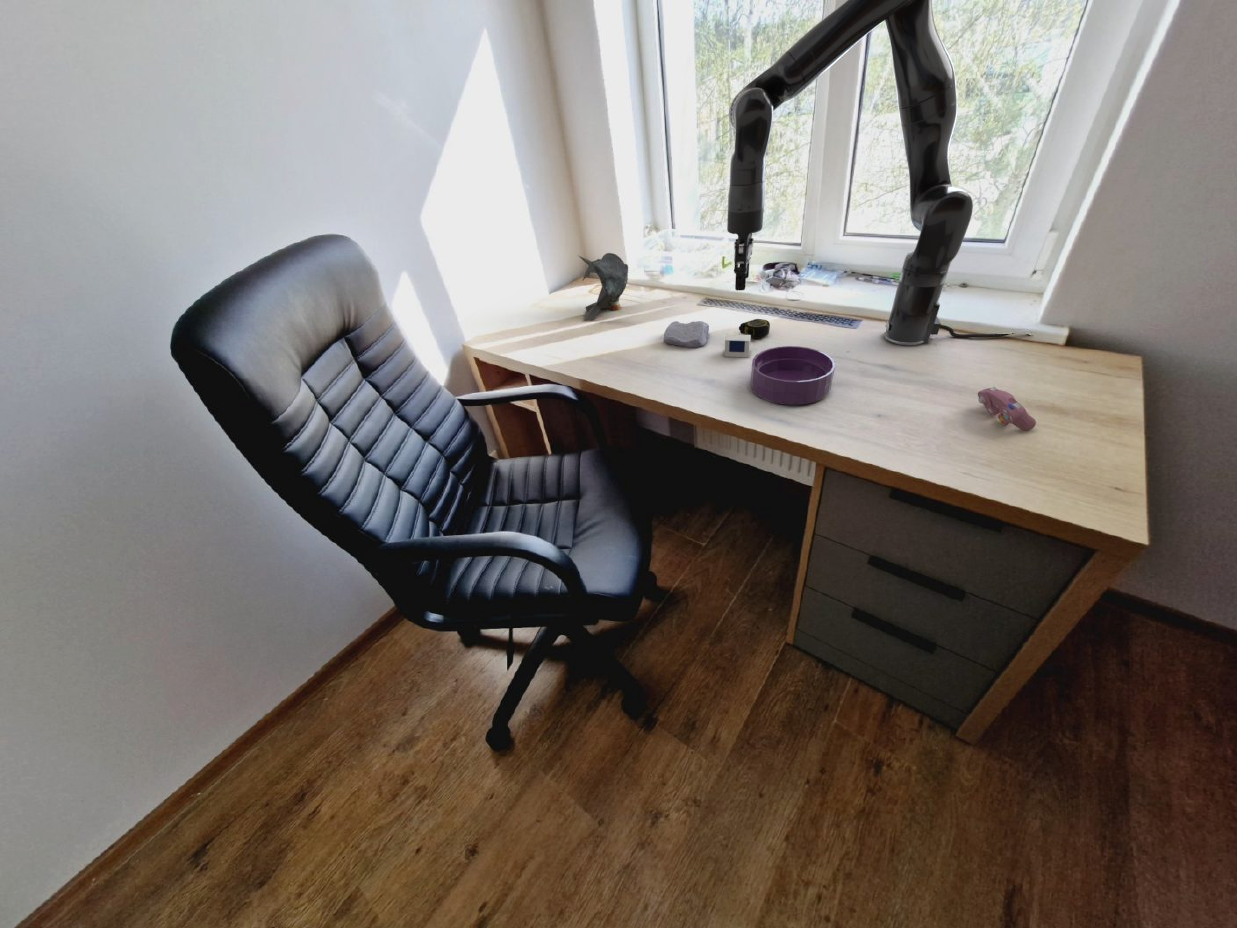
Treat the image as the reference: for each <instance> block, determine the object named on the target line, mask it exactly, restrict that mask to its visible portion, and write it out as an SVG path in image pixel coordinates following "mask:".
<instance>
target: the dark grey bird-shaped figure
mask: <svg viewBox="0 0 1237 928" xmlns="http://www.w3.org/2000/svg"><path fill="white" fill-rule="evenodd" d="M578 257H579V258H580V259H581V260H582V261H583V262H584V263H585V264H586V265H587V269H586V270H585V273H584V276H583V278H582V281H581V282H583V281H584V280H585V279H586V278H587V277H588V276H589V275H590V274H591V273H594V274H596V275H597V276H598V279H599V281H600V284H601V288H600V290H599V294H598V297H597V300H596V301H595V302H593V303H591V304H589V305H587V306H585V316H584V322H588V321H594V319H595V317H596V316H597V315H598V313H599V311H606V310H608V311H619V310H620V309H621V302H620V297H621V296H622V295H623V293H624V291H625V290H626V288H627V285H628V281H629V265H628V264H627V263H625V262H624V261H623V260H622V258H621V257H620V256H618V254H615V253H614V252H613V253H612V252H606V253H605V254H604V255H602V257H601V258H598V259H596V260H590V259H587V258H585V257H582V255H581V256H580V255H578Z"/></svg>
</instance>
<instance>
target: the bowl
mask: <svg viewBox="0 0 1237 928" xmlns="http://www.w3.org/2000/svg"><path fill="white" fill-rule="evenodd" d="M751 361H752V362H751V371H750V381H749V382H750V384H749V385H750V388H751V391H752V392H753V393H754V394H755V395H757V396H758V397H760V398H761V399H763V400H766V401H767V402H768V401H769V402H771V403H775V404H778V405H785V406H801V405H807V404H811V403H812V404H813V403H815V402H818V401H820V400H823V399H824V398H825V397H827V396H828V395H829V394H830V392H831V390H832V384H833V379H834V374H835V369H836V363H835V361H834V359H833V358H832V357H831V356H830V355H828V354H827V353H826V352H824V351H821V350H818V349H815V348H811V347H807V346H799V345H797V346H795V345H785V346H776V347H771V348H767V349H765V350H762V351H760V352H758V353H757V354H756V355H755V356H754V357H753V358H752V360H751Z"/></svg>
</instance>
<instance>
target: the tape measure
mask: <svg viewBox="0 0 1237 928" xmlns="http://www.w3.org/2000/svg"><path fill="white" fill-rule="evenodd" d="M770 329H771V323H770V322H769V320H767V319H764V318H763V319H762V318H754V319H751V320H748V321H745V322H742V323H740V325H739V326H738V330H739V332H740V334H741V335H751V338H752V339H753V338H754V339H758V338H764V337H766V336H767V335H769V334H770Z"/></svg>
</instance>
